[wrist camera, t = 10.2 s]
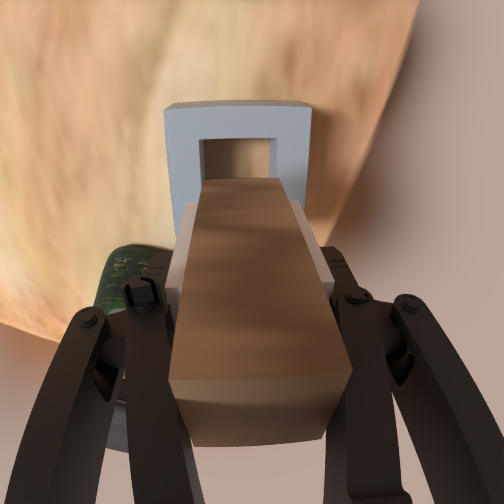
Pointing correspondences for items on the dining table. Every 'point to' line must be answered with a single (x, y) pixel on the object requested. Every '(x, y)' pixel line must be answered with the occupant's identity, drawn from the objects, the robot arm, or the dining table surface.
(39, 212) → the dining table surface
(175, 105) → the bore block
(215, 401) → the square bit
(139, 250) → the coffee jar
